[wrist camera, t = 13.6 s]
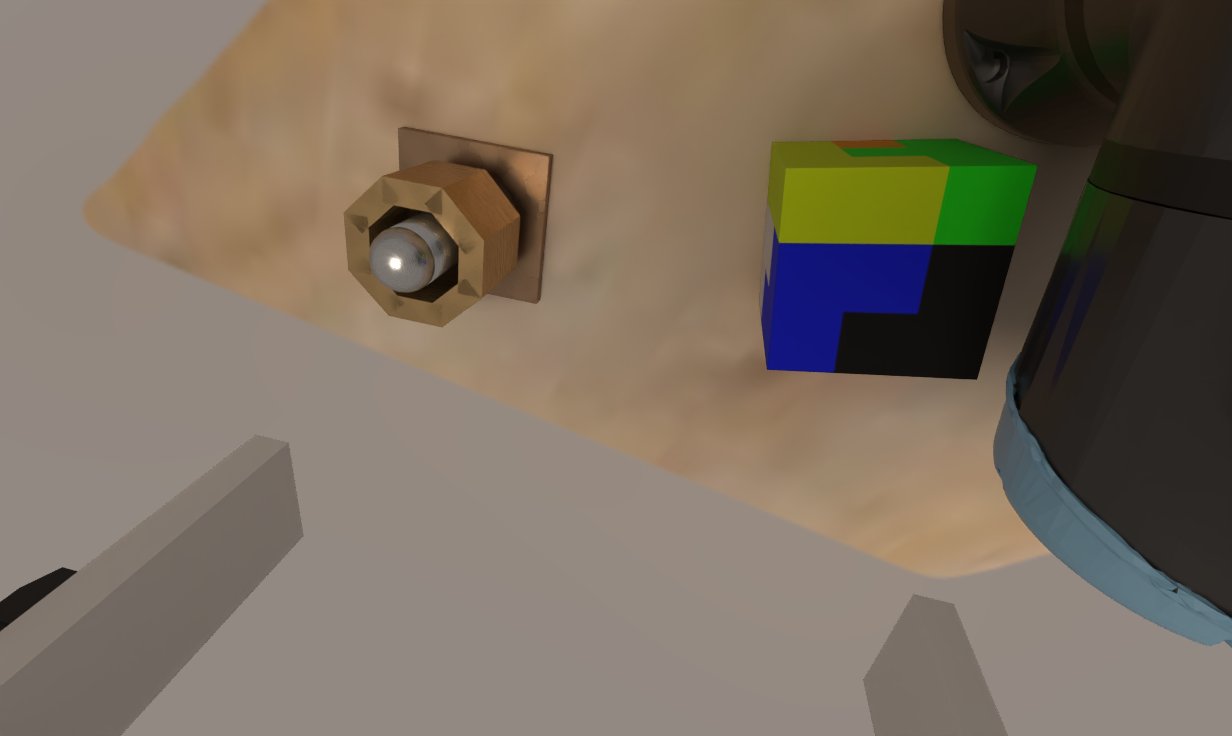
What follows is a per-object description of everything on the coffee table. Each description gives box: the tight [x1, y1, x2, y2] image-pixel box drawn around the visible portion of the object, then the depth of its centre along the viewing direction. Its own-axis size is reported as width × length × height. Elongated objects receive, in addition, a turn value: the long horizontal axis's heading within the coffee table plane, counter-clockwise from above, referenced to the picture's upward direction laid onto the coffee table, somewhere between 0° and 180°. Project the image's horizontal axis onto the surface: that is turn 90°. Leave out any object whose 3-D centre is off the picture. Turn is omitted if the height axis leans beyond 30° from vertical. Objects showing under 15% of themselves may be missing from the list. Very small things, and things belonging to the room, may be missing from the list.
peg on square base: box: [369, 127, 553, 304], centre depth 34 cm, size 10×10×12 cm
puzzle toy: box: [759, 139, 1038, 380], centre depth 31 cm, size 10×10×10 cm
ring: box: [344, 160, 520, 327], centre depth 34 cm, size 8×8×6 cm
